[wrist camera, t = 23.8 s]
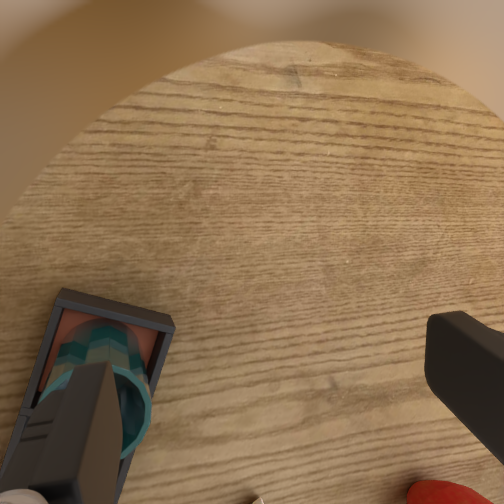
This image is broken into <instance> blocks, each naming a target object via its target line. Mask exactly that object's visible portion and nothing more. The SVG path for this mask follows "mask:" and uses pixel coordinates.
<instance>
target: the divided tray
mask: <svg viewBox="0 0 504 504" xmlns="http://www.w3.org/2000/svg"><path fill="white" fill-rule="evenodd" d="M97 318H108V319H112V320H116V321H119V322H122V323H124V324H125V325H127V326H128V327H129V328H130V329H132V331H133V332H134V333H135V334H136V336H137V337H138V339H139V341H140V344H141V348H142V350H143V356H144V362H145V367H146V373H147V379H148V385H149V390H150V396H151V400H152V397H153V394H154V391H155V388H156V385H157V382H158V379H159V376H160V373H161V370H162V367H163V364H164V361H165V358H166V355H167V352H168V349H169V346H170V343H171V340H172V337H173V334H174V331H175V328H176V327H175V325H174V323H173V321H172V318H171V316H170V315H167V314H163V313H159V312H155V311H151V310H148V309H144V308H140V307H136V306H132V305H128V304H124V303H120V302H117V301H113V300H109V299H105V298H101V297H97V296H93V295H89V294H86V293H82V292H78V291H74V290H70V289H66V288H62V289H61V291H60V293H59V295H58V296H57V298H56V301H55V304H54V307H53V310H52V313H51V316H50V319H49V322H48V325H47V329H46V332H45V335H44V338H43V341H42V344H41V347H40V350H39V353H38V356H37V359H36V362H35V365H34V369H33V372H32V375H31V378H30V381H29V384H28V387H27V390H26V393H25V396H24V399H23V402H22V405H21V409H20V412H19V415H18V418H17V421H16V424H15V427H14V430H13V433H12V436H11V439H10V442H9V445H8V448H7V452H6V455H5V458H4V461H3V464H2V467H1V470H0V480H1V478H2V475H3V473H4V471H5V469H6V467H7V465H8V463H9V461H10V459H11V457H12V454H13V452H14V450H15V448H16V446H17V444H18V443H19V442H20V438H21V436H22V433H23V431H24V429H25V428H27V423H28V421H29V419H30V417H31V415H32V413H33V410H34V408H35V407H36V406H37V404H38V401H39V398H40V396H41V393H42V390H43V388H44V385H45V382H46V380H47V377H48V374H49V372H50V369H51V366H52V364H53V361H54V358H55V356H56V353H57V351H58V349H59V347H60V345H61V342H62V341H63V339H64V338H65V336H66V335H67V334H68V333H69V332H70V331H71V330H72V329H73V328H74V327H76V326H77V325H79V324H81V323H83V322H85V321H88V320H92V319H97ZM135 449H136V448H135ZM135 449H134V450H132V451H131V452H130V453H129V454H128V455H127V456H126V457H125V458H123V459H121V460H120V463H119V470H118V477H117V483H116V490H115V497H114V503H113V504H117V503H118V500H119V497H120V494H121V491H122V488H123V485H124V482H125V479H126V476H127V473H128V470H129V467H130V464H131V461H132V458H133V455H134V452H135Z"/></svg>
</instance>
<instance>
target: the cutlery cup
mask: <svg viewBox="0 0 504 504" xmlns="http://www.w3.org/2000/svg"><path fill="white" fill-rule="evenodd" d="M103 361H110V363H111V365H112V369H113V374H114V379H115V385H116V391H117V396H118V402H119V407H120V413H121V419H122V430H123V441H122V450H121V457H120V460H121V459H123V458H125V457H126V456H127V455H128V454H129V453H130V452H131V451H132V450H134V449H135V448H136V447H137V446H138V445H139V444H140V443H141V441H142V440H143V438H144V436H145V434H146V431H147V429H148V427H149V425H150V422H151V408H152V402H151V396H150V390H149V385H148V379H147V373H146V367H145V362H144V356H143V350H142V348H141V344H140V341H139V339H138V337H137V336H136V334H135V333H134V332H133V331H132V329H130V328H129V327H128V326H127V325H125V324H124V323H122V322H119V321H116V320H112V319H108V318H97V319H92V320H88V321H85V322H83V323H81V324H79V325H77V326H76V327H74V328H73V329H72V330H71V331H70V332H69V333H68V334H67V335H66V336H65V338H64V339H63V341H62V342H61V345H60V347H59V349H58V351H57V353H56V356H55V358H54V361H53V364H52V366H51V369H50V372H49V374H48V377H47V380H46V382H45V385H44V388H43V390H42V393H41V396H40V398H39V401H38V404H39V403H40V402H41V401H42V400H43V399H44V398H45V397H46V396H47V395H48V394H49V393H50V392H51V391H56V390H62V389H66V387H67V385H68V382H69V380H70V377H71V375H72V372H73V370H74V367H75V366H76V365H82V364H89V363H96V362H103ZM38 404H37V405H38Z"/></svg>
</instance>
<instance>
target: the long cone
mask: <svg viewBox="0 0 504 504" xmlns="http://www.w3.org/2000/svg"><path fill="white" fill-rule="evenodd" d="M252 504H264V502H263V500H262V498H261V497H260V498H258V499H257V500H256V501H254V502H253V503H252Z"/></svg>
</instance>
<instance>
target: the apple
mask: <svg viewBox="0 0 504 504" xmlns="http://www.w3.org/2000/svg"><path fill="white" fill-rule="evenodd" d="M407 504H493V503H492V502H490V501H489V500H487V499H486V498H485V497H483V496H482V495H480V494H479V493H477V492H476V491H474V490H473V489H471V488H468V487H466V486H463V485H459V484H456V483H452V482H448V481H438V480H424V481H418V482H415V483H414V484H413V485H412V486H411V487H410V489H409V491H408V493H407Z"/></svg>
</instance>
